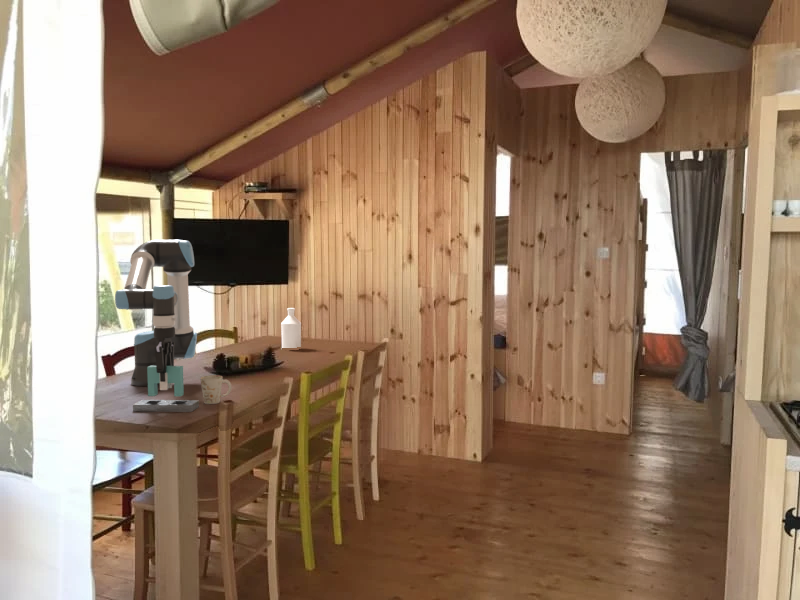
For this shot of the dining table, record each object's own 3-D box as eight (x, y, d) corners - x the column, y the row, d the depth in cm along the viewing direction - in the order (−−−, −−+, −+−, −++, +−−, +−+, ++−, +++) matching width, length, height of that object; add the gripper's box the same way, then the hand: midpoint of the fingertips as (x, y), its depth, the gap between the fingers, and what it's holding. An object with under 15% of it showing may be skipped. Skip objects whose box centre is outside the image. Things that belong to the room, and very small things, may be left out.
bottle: (294, 347, 401) (294, 307, 399) (305, 349, 392) (304, 308, 390) (277, 349, 393) (277, 308, 391) (287, 351, 384) (287, 309, 382)
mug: (197, 402, 255) (196, 377, 255) (225, 397, 264) (225, 373, 263) (207, 405, 250) (206, 380, 249) (236, 400, 258) (236, 375, 258)
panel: (148, 396, 243) (147, 367, 242) (151, 394, 246) (150, 365, 245) (180, 396, 242) (180, 367, 242) (183, 394, 245) (183, 365, 245)
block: (132, 411, 241) (132, 404, 241) (142, 406, 249) (142, 399, 249) (191, 411, 240) (191, 405, 240) (198, 406, 248) (198, 400, 248)
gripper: (165, 329, 234) (167, 393, 236) (182, 324, 250) (183, 384, 252) (145, 329, 234) (146, 393, 236) (163, 324, 250) (164, 384, 252)
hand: (165, 388), depth 244 cm, fingers closed on panel, 3 cm apart
